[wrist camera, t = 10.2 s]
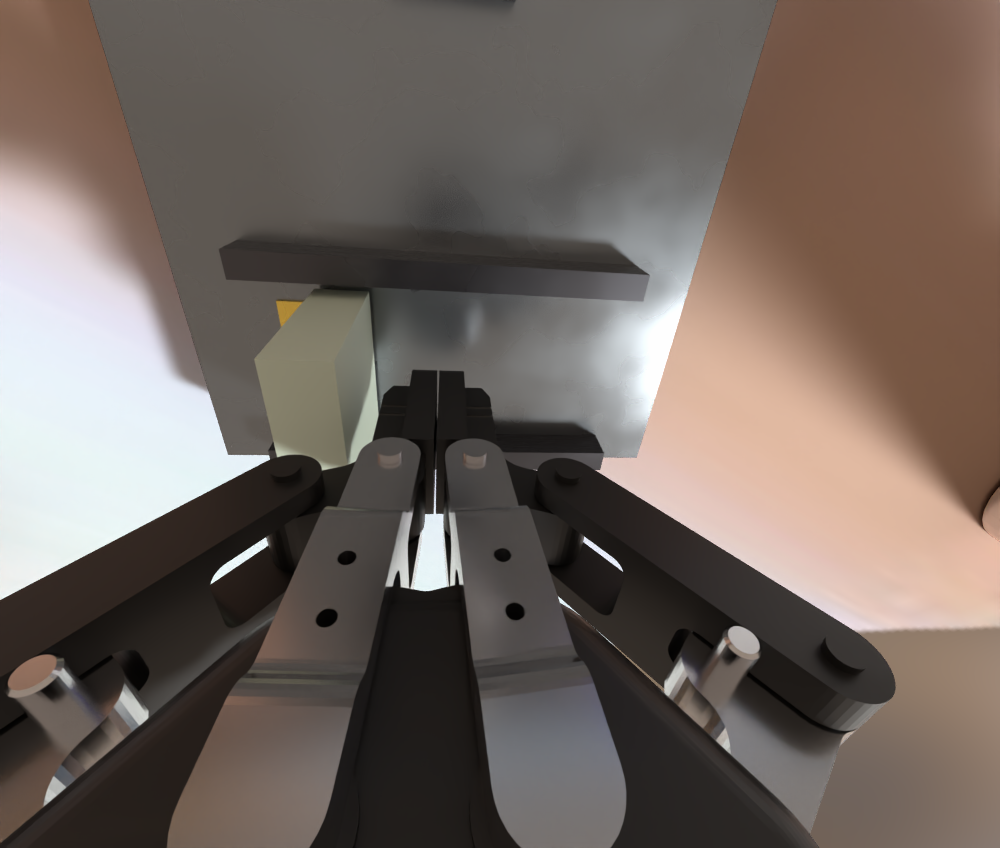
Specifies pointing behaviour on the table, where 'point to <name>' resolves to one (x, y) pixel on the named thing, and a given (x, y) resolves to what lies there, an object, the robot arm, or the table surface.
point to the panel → (441, 188)
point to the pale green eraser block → (322, 379)
